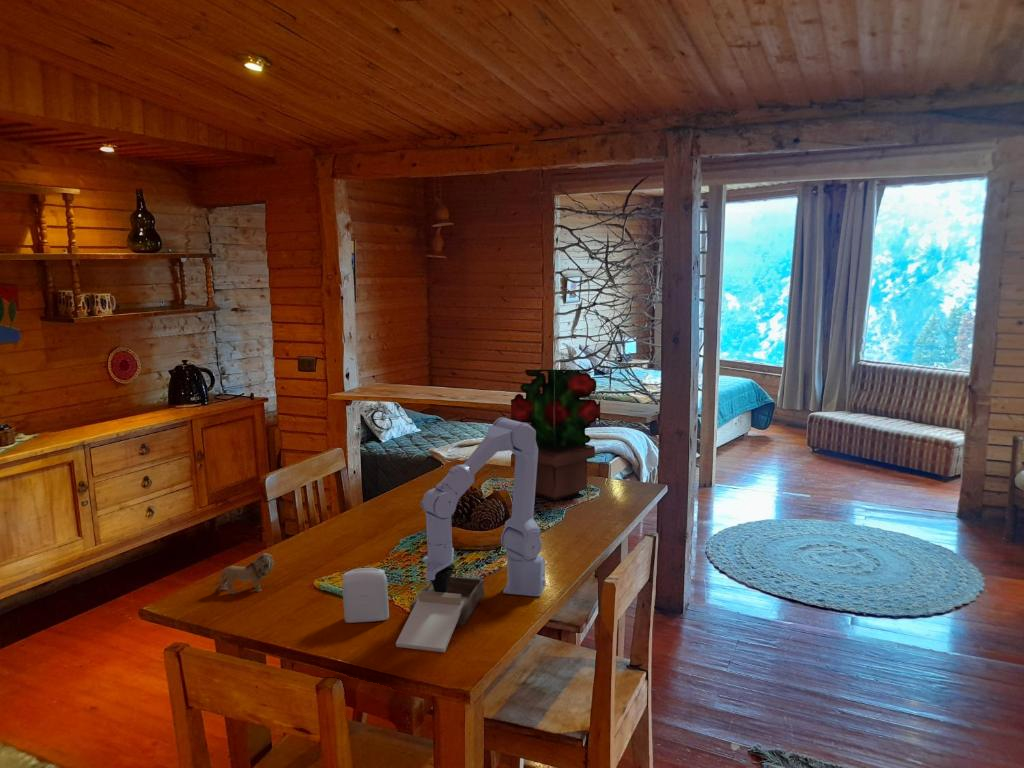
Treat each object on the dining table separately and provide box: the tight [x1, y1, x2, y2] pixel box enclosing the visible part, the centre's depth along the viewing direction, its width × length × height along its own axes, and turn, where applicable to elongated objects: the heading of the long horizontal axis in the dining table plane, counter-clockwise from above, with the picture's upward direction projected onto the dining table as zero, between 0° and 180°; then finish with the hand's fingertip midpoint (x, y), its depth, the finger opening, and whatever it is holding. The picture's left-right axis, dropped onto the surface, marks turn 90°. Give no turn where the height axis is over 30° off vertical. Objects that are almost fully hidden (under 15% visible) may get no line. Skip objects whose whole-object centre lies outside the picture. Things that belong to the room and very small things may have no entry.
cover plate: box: [395, 589, 464, 653], centre depth 162 cm, size 15×11×3 cm
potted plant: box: [510, 367, 601, 502], centre depth 257 cm, size 22×22×45 cm
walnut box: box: [409, 575, 485, 628], centre depth 175 cm, size 17×13×4 cm
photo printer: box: [341, 567, 390, 624], centre depth 169 cm, size 10×4×12 cm, turn 96°
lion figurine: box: [214, 552, 275, 595], centre depth 186 cm, size 15×5×9 cm, turn 109°
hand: (441, 596), depth 170 cm, fingers closed
